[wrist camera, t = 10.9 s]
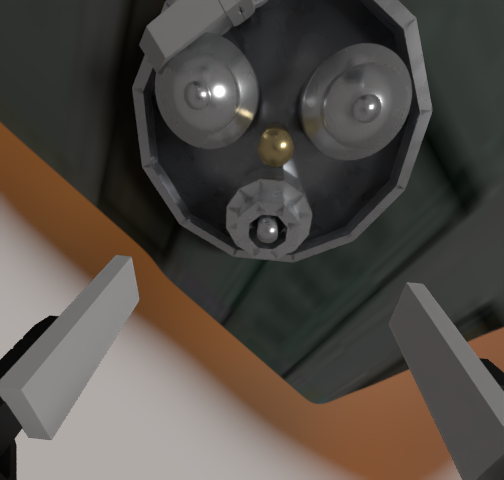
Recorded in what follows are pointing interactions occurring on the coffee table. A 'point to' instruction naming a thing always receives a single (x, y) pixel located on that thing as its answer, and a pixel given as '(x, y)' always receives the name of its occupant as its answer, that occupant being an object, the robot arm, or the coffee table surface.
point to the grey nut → (268, 212)
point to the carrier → (289, 116)
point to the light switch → (191, 26)
